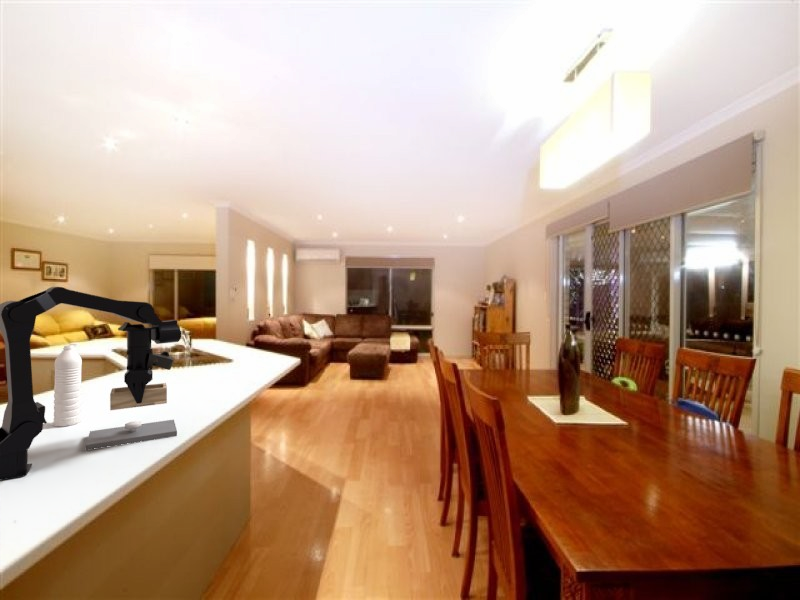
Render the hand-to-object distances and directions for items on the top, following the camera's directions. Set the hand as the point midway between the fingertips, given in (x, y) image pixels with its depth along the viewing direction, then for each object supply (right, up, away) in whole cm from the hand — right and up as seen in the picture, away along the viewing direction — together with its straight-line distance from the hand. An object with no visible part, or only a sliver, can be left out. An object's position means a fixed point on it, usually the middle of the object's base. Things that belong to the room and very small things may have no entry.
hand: (139, 400), depth 109 cm
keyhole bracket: (0, -1, 0) cm, 1 cm away
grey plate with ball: (-4, -11, +3) cm, 12 cm away
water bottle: (-31, -11, +13) cm, 36 cm away
